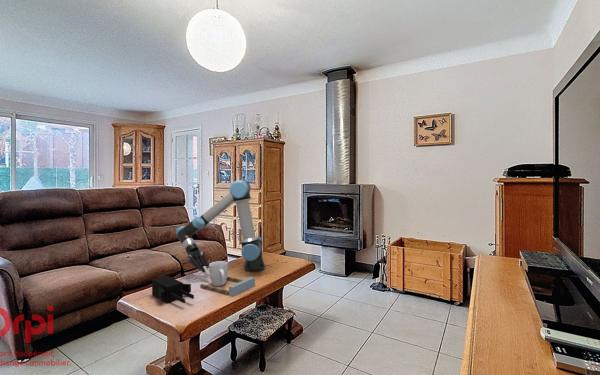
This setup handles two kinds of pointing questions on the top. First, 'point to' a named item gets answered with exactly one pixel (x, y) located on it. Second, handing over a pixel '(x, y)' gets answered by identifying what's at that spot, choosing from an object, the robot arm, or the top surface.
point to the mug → (218, 272)
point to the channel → (219, 288)
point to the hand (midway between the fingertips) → (208, 275)
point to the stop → (241, 286)
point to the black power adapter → (170, 289)
